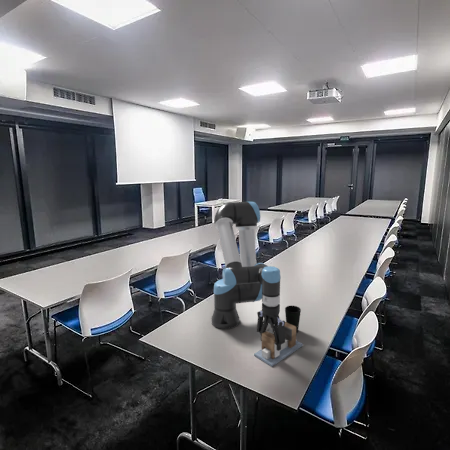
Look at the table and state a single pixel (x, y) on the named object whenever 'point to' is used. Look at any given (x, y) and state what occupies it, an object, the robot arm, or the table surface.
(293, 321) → the cup
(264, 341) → the two-tone tabbed box
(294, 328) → the fixed jaw
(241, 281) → the robot arm
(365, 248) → the table surface
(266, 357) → the rail
